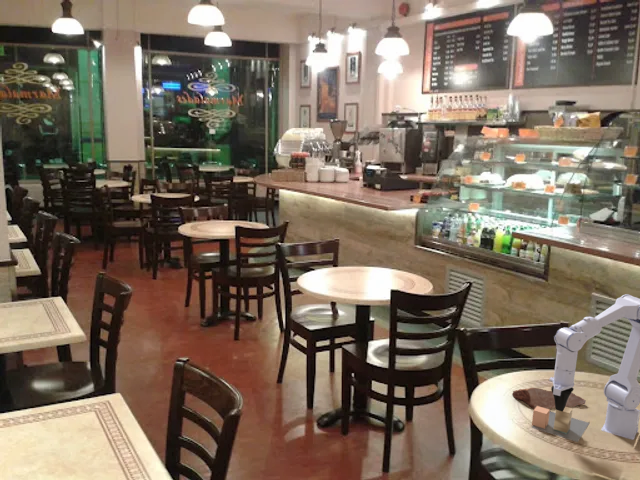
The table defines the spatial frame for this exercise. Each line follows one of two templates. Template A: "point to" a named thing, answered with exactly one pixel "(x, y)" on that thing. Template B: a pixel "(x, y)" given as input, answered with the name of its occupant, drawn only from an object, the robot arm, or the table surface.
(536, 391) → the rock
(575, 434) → the slate board
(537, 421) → the terracotta block
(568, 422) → the beech block
